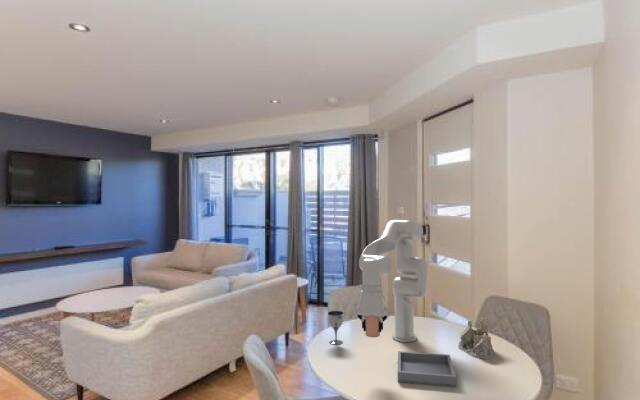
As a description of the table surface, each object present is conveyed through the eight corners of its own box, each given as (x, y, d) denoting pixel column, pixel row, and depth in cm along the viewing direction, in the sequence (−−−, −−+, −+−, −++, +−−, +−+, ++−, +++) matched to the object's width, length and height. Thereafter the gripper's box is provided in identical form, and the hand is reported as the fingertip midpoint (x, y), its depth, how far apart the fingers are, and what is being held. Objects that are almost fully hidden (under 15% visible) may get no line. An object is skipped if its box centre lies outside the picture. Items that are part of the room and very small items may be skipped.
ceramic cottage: (461, 341, 183) (461, 312, 182) (496, 349, 174) (497, 319, 173) (453, 354, 170) (453, 323, 169) (491, 364, 161) (491, 331, 160)
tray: (398, 360, 164) (398, 351, 164) (449, 363, 159) (449, 354, 159) (397, 382, 144) (397, 372, 144) (456, 387, 139) (456, 376, 139)
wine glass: (342, 346, 180) (342, 315, 180) (327, 345, 182) (326, 315, 182) (344, 339, 188) (344, 310, 188) (329, 339, 190) (329, 310, 190)
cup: (366, 331, 157) (365, 310, 157) (380, 332, 155) (379, 311, 155) (364, 336, 151) (364, 315, 151) (379, 337, 150) (378, 315, 150)
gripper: (350, 289, 151) (351, 332, 152) (392, 291, 147) (393, 335, 148) (352, 285, 159) (353, 326, 159) (392, 286, 155) (393, 328, 155)
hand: (372, 330), depth 153 cm, fingers closed on cup, 6 cm apart
